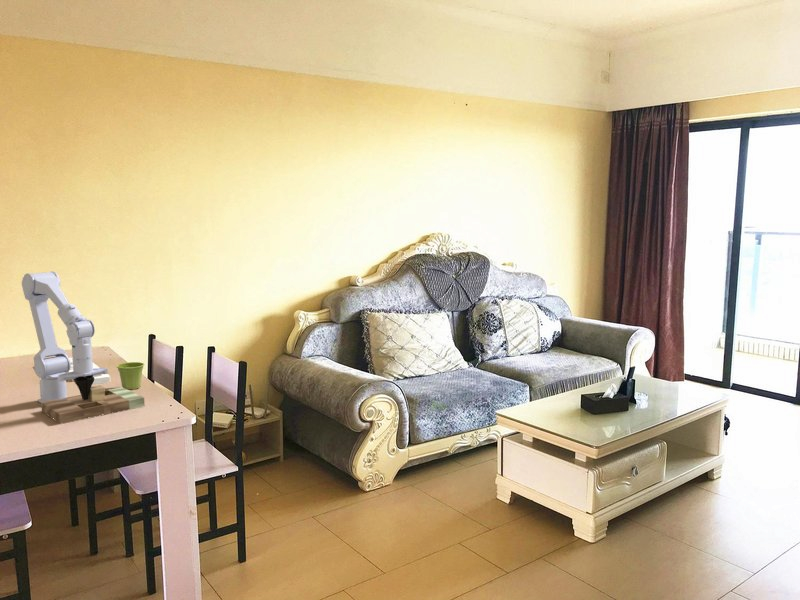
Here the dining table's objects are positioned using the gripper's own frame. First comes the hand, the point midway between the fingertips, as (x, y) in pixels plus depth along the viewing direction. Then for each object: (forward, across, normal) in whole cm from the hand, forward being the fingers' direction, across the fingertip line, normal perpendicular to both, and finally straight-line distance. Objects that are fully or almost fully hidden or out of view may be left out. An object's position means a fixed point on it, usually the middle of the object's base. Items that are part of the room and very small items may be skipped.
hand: (85, 399), depth 211 cm
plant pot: (+4, +22, +17) cm, 28 cm away
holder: (+4, +14, +55) cm, 57 cm away
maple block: (+1, +3, 0) cm, 3 cm away
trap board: (+4, +2, 0) cm, 4 cm away
